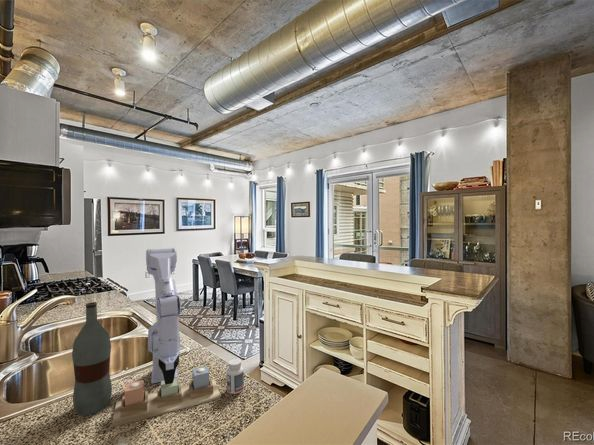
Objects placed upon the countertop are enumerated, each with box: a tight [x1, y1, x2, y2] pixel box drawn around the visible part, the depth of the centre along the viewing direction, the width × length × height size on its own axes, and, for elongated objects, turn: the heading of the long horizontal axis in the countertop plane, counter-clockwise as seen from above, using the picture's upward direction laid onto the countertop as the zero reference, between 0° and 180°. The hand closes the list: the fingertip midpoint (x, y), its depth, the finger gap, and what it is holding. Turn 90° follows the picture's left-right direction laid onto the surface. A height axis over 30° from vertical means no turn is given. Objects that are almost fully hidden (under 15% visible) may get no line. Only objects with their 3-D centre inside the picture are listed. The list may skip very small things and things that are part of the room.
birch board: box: [111, 375, 222, 428], centre depth 87 cm, size 11×28×3 cm, turn 116°
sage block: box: [160, 377, 178, 398], centre depth 87 cm, size 4×4×5 cm
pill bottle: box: [226, 358, 245, 395], centre depth 92 cm, size 5×5×9 cm
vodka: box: [71, 301, 113, 417], centre depth 84 cm, size 9×9×30 cm
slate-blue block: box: [192, 365, 210, 389], centre depth 90 cm, size 4×4×5 cm
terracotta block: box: [124, 379, 145, 407], centre depth 83 cm, size 4×4×5 cm
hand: (169, 382), depth 87 cm, fingers closed, pressing on sage block
